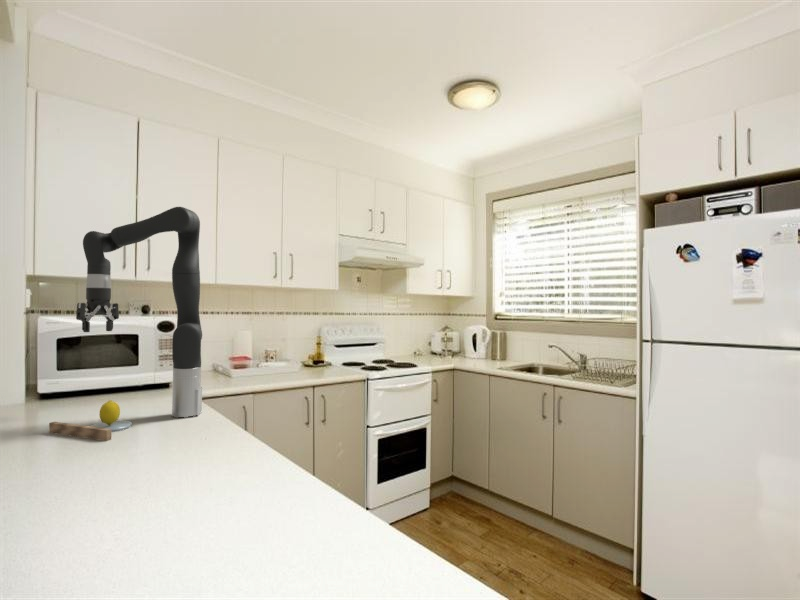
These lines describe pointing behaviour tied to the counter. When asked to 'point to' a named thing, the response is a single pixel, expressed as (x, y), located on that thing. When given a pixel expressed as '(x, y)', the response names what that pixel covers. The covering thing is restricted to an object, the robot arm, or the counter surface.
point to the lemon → (109, 412)
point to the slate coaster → (113, 425)
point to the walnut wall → (80, 431)
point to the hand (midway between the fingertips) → (98, 331)
